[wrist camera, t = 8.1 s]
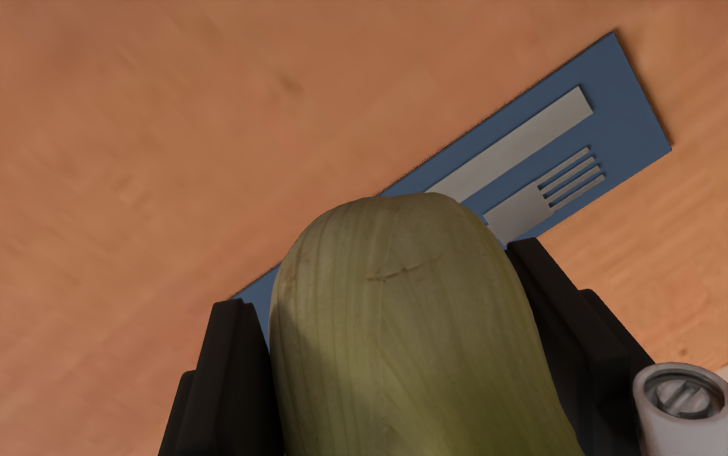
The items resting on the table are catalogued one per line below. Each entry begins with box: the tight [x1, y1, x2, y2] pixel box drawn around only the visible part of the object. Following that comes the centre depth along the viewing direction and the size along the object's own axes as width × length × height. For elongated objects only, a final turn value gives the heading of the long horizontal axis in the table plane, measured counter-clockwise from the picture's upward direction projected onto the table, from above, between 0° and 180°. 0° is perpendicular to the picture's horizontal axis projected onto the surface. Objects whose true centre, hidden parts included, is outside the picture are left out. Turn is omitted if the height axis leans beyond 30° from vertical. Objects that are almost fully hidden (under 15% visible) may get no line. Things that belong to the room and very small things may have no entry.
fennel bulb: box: [268, 192, 585, 456], centre depth 9 cm, size 6×5×12 cm
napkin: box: [229, 32, 672, 354], centre depth 30 cm, size 24×7×1 cm, turn 126°
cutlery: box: [422, 85, 605, 246], centre depth 30 cm, size 18×5×1 cm, turn 126°
